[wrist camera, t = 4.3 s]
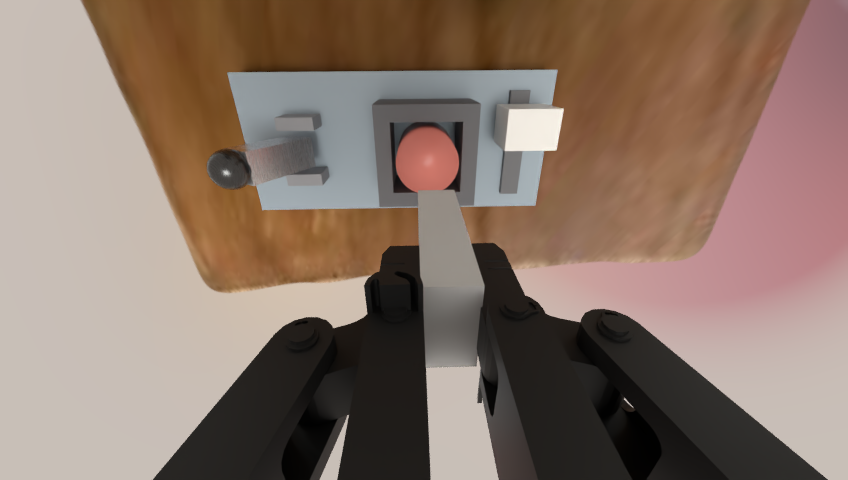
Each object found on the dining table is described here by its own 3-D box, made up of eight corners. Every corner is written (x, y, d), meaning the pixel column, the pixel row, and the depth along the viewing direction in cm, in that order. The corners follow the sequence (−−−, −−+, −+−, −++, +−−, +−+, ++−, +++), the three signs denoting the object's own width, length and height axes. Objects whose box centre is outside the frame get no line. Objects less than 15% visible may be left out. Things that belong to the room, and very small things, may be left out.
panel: (244, 72, 29) (188, 72, 22) (544, 69, 29) (585, 69, 22) (274, 199, 34) (238, 232, 27) (526, 195, 35) (554, 227, 28)
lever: (288, 132, 28) (191, 150, 21) (312, 135, 27) (217, 155, 20) (294, 165, 29) (205, 191, 23) (317, 168, 28) (230, 197, 22)
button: (397, 120, 27) (394, 131, 22) (452, 119, 27) (460, 130, 22) (400, 174, 29) (397, 194, 25) (450, 173, 30) (457, 193, 25)
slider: (496, 104, 27) (509, 109, 23) (544, 103, 27) (563, 108, 24) (493, 141, 28) (504, 151, 25) (538, 140, 28) (556, 150, 25)
